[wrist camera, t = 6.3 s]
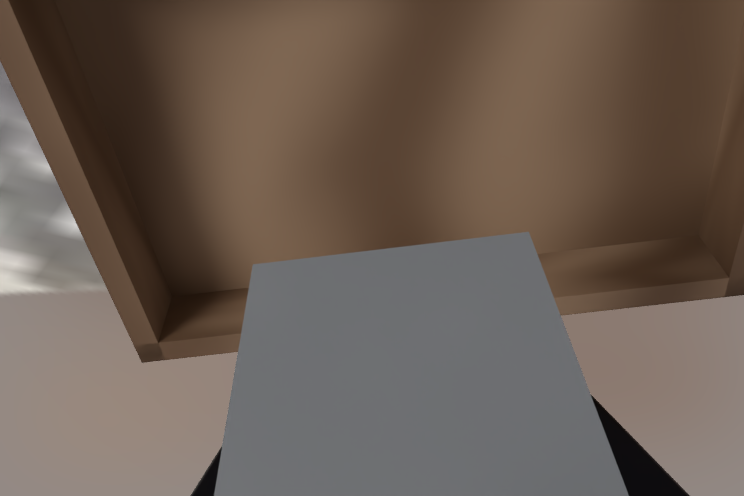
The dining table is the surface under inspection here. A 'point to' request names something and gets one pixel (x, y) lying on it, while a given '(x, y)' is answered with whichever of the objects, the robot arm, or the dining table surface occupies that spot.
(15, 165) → the dining table surface
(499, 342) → the slate stone block
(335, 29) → the walnut tray
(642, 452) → the robot arm
